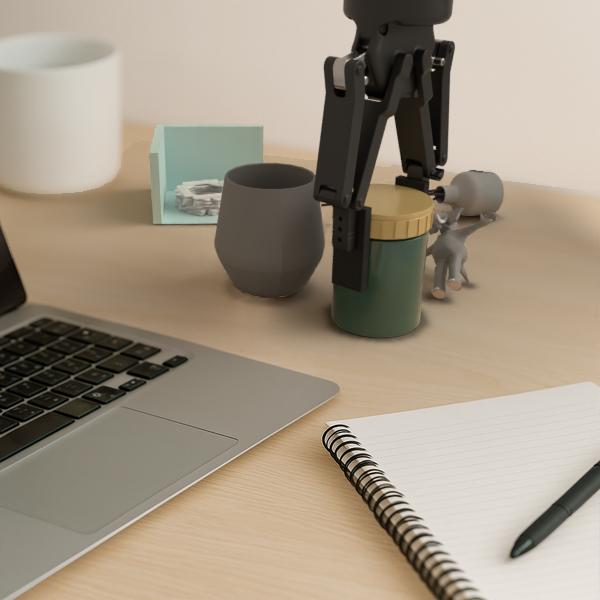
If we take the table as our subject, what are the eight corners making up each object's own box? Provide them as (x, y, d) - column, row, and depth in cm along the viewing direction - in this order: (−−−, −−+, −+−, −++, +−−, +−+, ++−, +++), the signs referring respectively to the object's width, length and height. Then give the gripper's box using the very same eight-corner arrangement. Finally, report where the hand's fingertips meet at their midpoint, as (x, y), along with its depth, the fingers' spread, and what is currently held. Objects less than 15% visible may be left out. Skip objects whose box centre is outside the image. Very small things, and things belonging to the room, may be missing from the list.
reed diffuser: (522, 163, 86) (357, 165, 77) (526, 229, 86) (363, 239, 77) (460, 176, 95) (307, 180, 86) (464, 236, 96) (312, 246, 87)
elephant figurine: (378, 295, 72) (387, 227, 78) (421, 334, 74) (427, 265, 80) (475, 244, 66) (476, 175, 72) (517, 288, 68) (515, 218, 75)
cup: (209, 268, 76) (206, 161, 71) (308, 261, 78) (311, 157, 73) (225, 313, 67) (223, 196, 63) (335, 304, 69) (340, 190, 65)
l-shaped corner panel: (153, 224, 86) (149, 153, 82) (159, 188, 96) (156, 124, 93) (268, 222, 87) (269, 152, 84) (262, 187, 98) (262, 124, 94)
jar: (410, 297, 71) (420, 190, 67) (428, 337, 65) (440, 221, 60) (326, 298, 70) (331, 190, 66) (336, 338, 64) (342, 221, 60)
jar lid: (391, 200, 69) (393, 178, 68) (452, 229, 63) (455, 205, 62) (313, 215, 65) (314, 191, 64) (370, 247, 59) (372, 222, 58)
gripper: (428, -48, 65) (405, 225, 75) (260, -40, 51) (258, 298, 60) (517, -42, 61) (480, 245, 71) (361, -32, 46) (342, 329, 56)
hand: (378, 269), depth 66 cm, fingers closed on jar lid, 7 cm apart
